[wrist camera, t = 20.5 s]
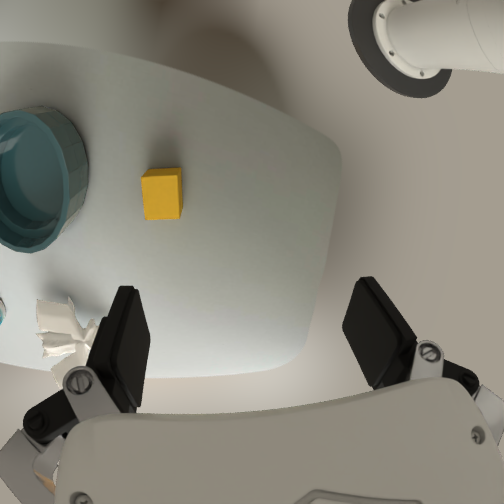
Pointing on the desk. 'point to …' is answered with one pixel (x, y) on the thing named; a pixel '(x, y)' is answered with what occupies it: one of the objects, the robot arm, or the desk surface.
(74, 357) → the figurine
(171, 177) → the yellow block
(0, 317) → the pill bottle
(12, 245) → the bowl
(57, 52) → the desk surface
